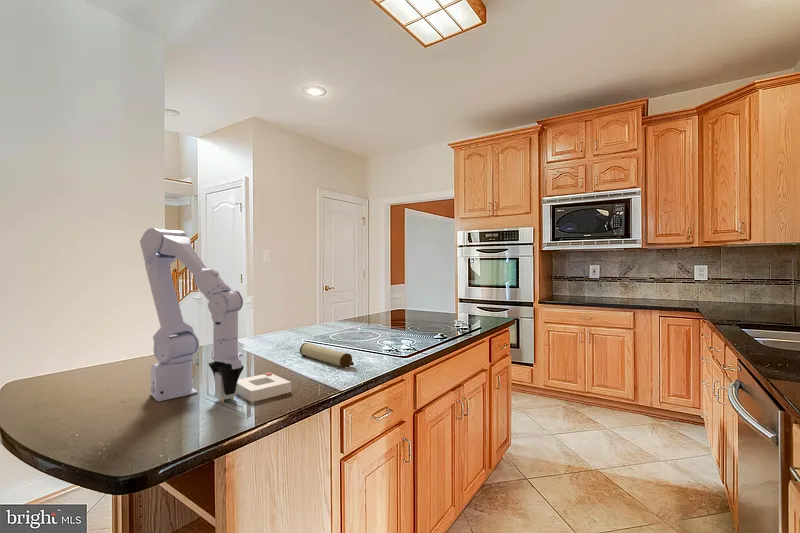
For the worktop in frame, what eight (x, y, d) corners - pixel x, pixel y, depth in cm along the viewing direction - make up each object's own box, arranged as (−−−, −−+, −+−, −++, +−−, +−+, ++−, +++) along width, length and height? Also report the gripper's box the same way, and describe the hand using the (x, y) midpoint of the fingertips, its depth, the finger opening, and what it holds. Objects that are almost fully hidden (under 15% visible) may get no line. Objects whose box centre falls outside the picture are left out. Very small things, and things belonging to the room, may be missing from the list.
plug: (220, 404, 98) (220, 371, 98) (214, 400, 101) (214, 368, 101) (236, 400, 101) (236, 368, 101) (230, 396, 104) (230, 365, 103)
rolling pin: (294, 355, 150) (294, 342, 150) (307, 352, 154) (307, 340, 154) (346, 372, 127) (346, 356, 127) (360, 369, 131) (360, 354, 131)
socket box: (251, 402, 99) (251, 389, 99) (232, 390, 108) (232, 379, 108) (291, 392, 107) (291, 380, 107) (270, 382, 116) (270, 371, 116)
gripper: (253, 340, 98) (253, 394, 98) (230, 332, 109) (230, 381, 109) (224, 344, 93) (224, 401, 93) (203, 335, 104) (203, 387, 104)
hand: (225, 391), depth 101 cm, fingers open, 5 cm apart
